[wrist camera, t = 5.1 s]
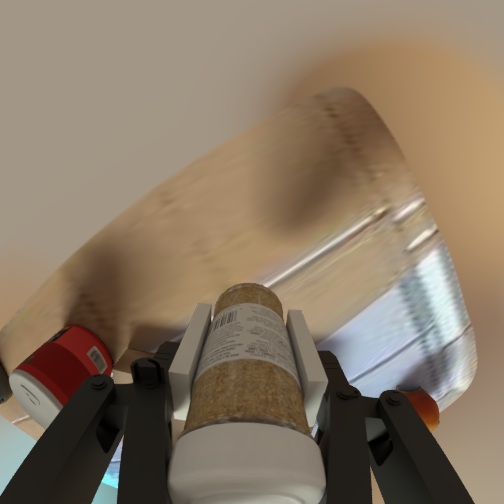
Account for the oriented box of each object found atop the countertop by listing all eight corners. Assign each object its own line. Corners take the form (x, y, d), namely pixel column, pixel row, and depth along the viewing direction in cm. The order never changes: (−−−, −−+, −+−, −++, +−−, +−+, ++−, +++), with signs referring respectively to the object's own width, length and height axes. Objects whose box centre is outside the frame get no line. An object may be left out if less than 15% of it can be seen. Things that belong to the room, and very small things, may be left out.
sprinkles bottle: (236, 351, 18) (221, 535, 5) (201, 299, 18) (125, 485, 4) (295, 323, 18) (350, 509, 5) (262, 266, 17) (290, 459, 4)
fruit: (443, 370, 25) (455, 427, 19) (413, 392, 30) (421, 441, 24) (391, 380, 25) (400, 446, 19) (365, 400, 30) (370, 454, 24)
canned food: (66, 310, 25) (5, 357, 14) (121, 348, 26) (72, 413, 15) (59, 354, 27) (11, 401, 16) (108, 388, 27) (70, 447, 17)
